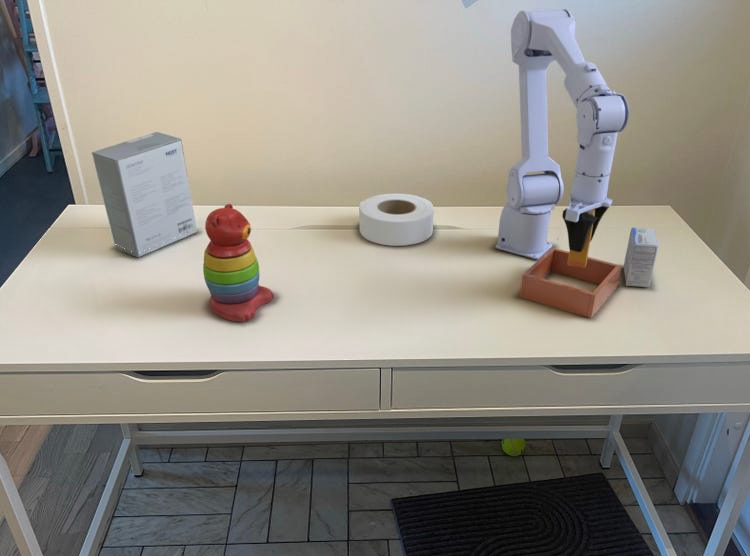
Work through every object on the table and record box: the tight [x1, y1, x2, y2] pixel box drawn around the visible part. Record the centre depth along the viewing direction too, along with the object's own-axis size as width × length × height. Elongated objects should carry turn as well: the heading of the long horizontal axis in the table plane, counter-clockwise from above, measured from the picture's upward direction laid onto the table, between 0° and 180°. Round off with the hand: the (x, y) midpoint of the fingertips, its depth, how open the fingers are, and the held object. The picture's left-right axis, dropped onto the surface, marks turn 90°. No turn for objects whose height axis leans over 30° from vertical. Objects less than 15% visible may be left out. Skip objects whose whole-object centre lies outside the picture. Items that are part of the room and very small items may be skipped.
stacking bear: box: [202, 203, 275, 323], centre depth 121 cm, size 11×10×18 cm
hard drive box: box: [91, 131, 198, 258], centre depth 142 cm, size 16×8×20 cm, turn 144°
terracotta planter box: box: [519, 246, 622, 319], centre depth 131 cm, size 14×14×4 cm
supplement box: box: [567, 209, 595, 268], centre depth 125 cm, size 3×3×10 cm
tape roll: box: [358, 193, 435, 247], centre depth 151 cm, size 16×16×6 cm
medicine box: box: [623, 227, 659, 289], centre depth 134 cm, size 8×4×9 cm, turn 168°
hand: (579, 246), depth 126 cm, fingers closed on supplement box, 3 cm apart
